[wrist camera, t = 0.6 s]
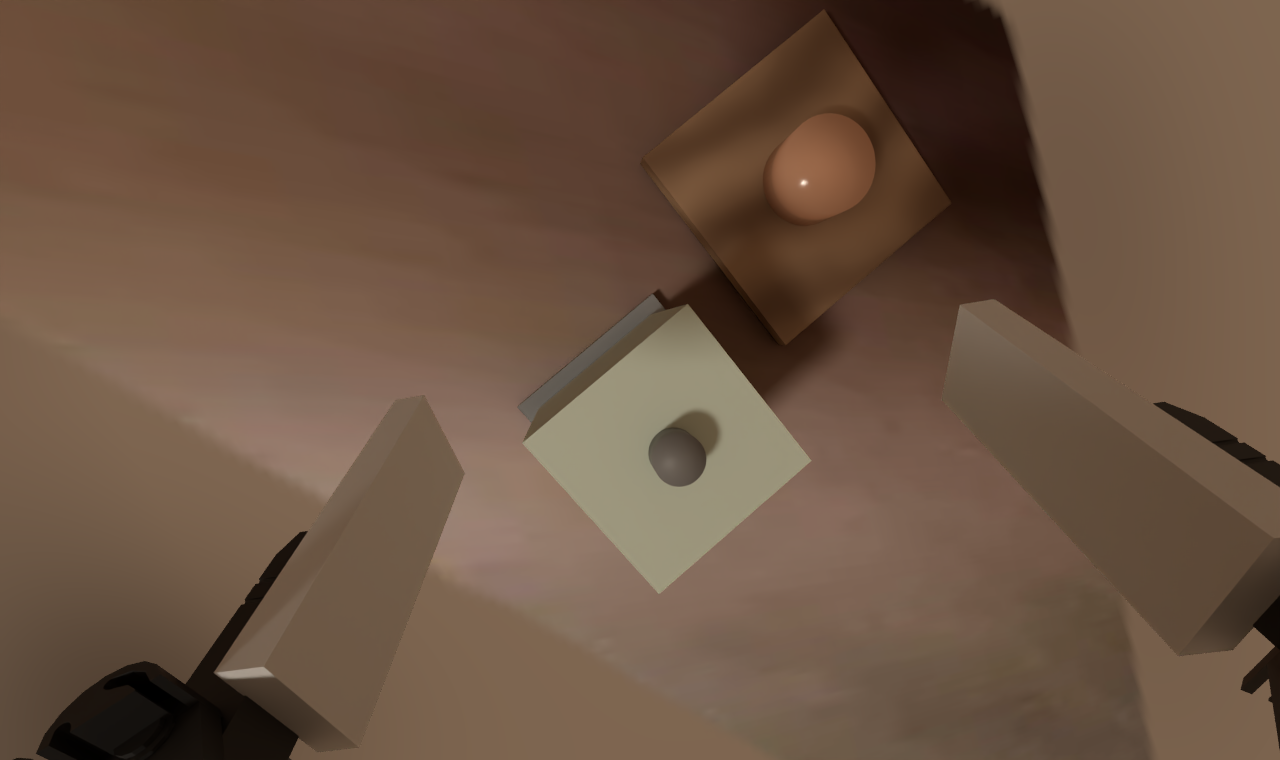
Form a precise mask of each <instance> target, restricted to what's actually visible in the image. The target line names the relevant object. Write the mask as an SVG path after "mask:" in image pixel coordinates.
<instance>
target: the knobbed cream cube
mask: <svg viewBox="0 0 1280 760" xmlns="http://www.w3.org/2000/svg"><path fill="white" fill-rule="evenodd" d="M523 444H524V445H525V447H526V448H527V449H528V450H529V451H530V452H531V453H532V454H533V455H534V456H535V458H536V459H537V460H538V461H539V462H540V463H541V464H542V465H543V466H544V468H545V469H546V470H547V471H548V472H549V473H550V474H551V475H552V476H553V477H554V479H555V480H556V481H557V482H558V483H559V484H560V485H561V486H562V487H563V489H564V490H565V491H566V492H567V493H568V494H569V495H570V496H571V497H572V498H573V500H574V501H575V502H576V503H577V504H578V505H579V506H580V507H581V508H582V510H583V511H584V512H585V513H586V514H587V515H588V516H589V517H590V518H591V519H592V521H593V522H594V523H595V524H596V525H597V526H598V527H599V528H600V529H601V531H602V532H603V533H604V534H605V535H606V536H607V537H608V538H609V539H610V540H611V542H612V543H613V544H614V545H615V546H616V547H617V548H618V549H619V550H620V552H621V553H622V554H623V555H624V556H625V557H626V558H627V559H628V560H629V561H630V563H631V564H632V565H633V566H634V567H635V568H636V569H637V570H638V571H639V573H640V574H641V575H642V576H643V577H644V578H645V579H646V580H647V581H648V582H649V584H650V585H651V586H652V587H653V588H654V589H655V590H656V591H657V592H658V594H660V593H661V592H662V591H663V590H664V589H665V588H667V587H668V586H669V585H670V584H671V583H672V582H673V581H675V580H676V579H677V578H678V577H679V576H680V575H681V574H683V573H684V572H685V571H686V570H687V569H688V568H689V567H691V566H692V565H693V564H694V563H695V562H696V561H697V560H699V559H700V558H701V557H702V556H703V555H704V554H705V553H707V552H708V551H709V550H710V549H711V548H712V547H713V546H715V545H716V544H717V543H718V542H719V541H720V540H721V539H723V538H724V537H725V536H726V535H727V534H728V533H729V532H731V531H732V530H733V529H734V528H735V527H736V526H737V525H739V524H740V523H741V522H742V521H743V520H744V519H745V518H747V517H748V516H749V515H750V514H751V513H752V512H753V511H755V510H756V509H757V508H758V507H759V506H760V505H761V504H763V503H764V502H765V501H766V500H767V499H768V498H769V497H771V496H772V495H773V494H774V493H775V492H776V491H777V490H779V489H780V488H781V487H782V486H783V485H784V484H785V483H787V482H788V481H789V480H790V479H791V478H792V477H793V476H795V475H796V474H797V473H798V472H799V471H800V470H801V469H803V468H804V467H805V466H806V465H807V464H808V463H809V462H811V460H810V458H809V457H808V456H807V454H806V453H805V452H804V451H803V449H802V448H801V447H800V446H799V444H798V443H797V442H796V441H795V439H794V438H793V437H792V435H791V434H790V433H789V432H788V430H787V429H786V428H785V427H784V425H783V424H782V423H781V421H780V420H779V419H778V418H777V416H776V415H775V414H774V413H773V411H772V410H771V409H770V408H769V406H768V405H767V404H766V402H765V401H764V400H763V399H762V397H761V396H760V395H759V394H758V392H757V391H756V390H755V389H754V387H753V386H752V385H751V383H750V382H749V381H748V380H747V378H746V377H745V376H744V375H743V373H742V372H741V371H740V370H739V368H738V367H737V366H736V364H735V363H734V362H733V361H732V359H731V358H730V357H729V356H728V354H727V353H726V352H725V351H724V349H723V348H722V347H721V345H720V344H719V343H718V342H717V340H716V339H715V338H714V337H713V335H712V334H711V333H710V331H709V330H708V329H707V328H706V326H705V325H704V324H703V323H702V321H701V320H700V319H699V318H698V316H697V315H696V314H695V312H694V311H693V310H692V309H691V307H690V306H689V305H688V304H686V305H682V306H679V307H675V308H672V309H668V310H665V311H661V312H658V313H654V314H651V315H649V316H648V317H647V318H646V319H645V320H644V321H642V322H641V323H640V324H639V325H638V326H636V327H635V328H634V329H633V330H632V331H630V332H629V333H628V334H627V335H626V336H624V337H623V338H622V339H621V340H620V341H618V342H617V343H616V344H615V345H614V346H613V347H611V348H610V349H609V350H608V351H607V352H605V353H604V354H603V355H602V356H601V357H599V358H598V359H597V360H596V361H595V362H593V363H592V364H591V365H590V366H589V367H587V368H586V369H585V370H584V371H583V372H582V373H580V374H579V375H578V376H577V377H576V378H574V379H573V380H572V381H571V382H570V383H568V384H567V385H566V386H565V387H564V388H562V389H561V390H560V391H559V392H558V393H556V394H555V395H554V396H553V397H552V398H551V399H549V400H548V401H547V402H546V403H545V404H543V405H542V406H541V407H540V408H539V409H538V411H537V413H536V415H535V417H534V419H533V421H532V424H531V426H530V428H529V430H528V432H527V434H526V436H525V438H524V441H523Z"/></svg>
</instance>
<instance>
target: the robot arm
mask: <svg viewBox="0 0 1280 760" xmlns="http://www.w3.org/2000/svg"><path fill="white" fill-rule="evenodd" d="M942 401H943V402H944V403H945V404H946V405H947V406H948V407H949V408H950V409H951V410H952V411H953V412H954V414H955V415H956V416H957V417H958V418H959V419H960V420H961V421H962V422H963V423H964V424H965V425H966V427H967V428H968V429H969V430H970V431H971V432H972V433H973V434H974V435H975V436H976V437H977V439H978V440H979V441H980V442H981V443H982V444H983V445H984V446H985V447H986V448H987V449H988V450H989V452H990V453H991V454H992V455H993V456H994V457H995V458H996V459H997V460H998V461H999V462H1000V463H1001V465H1002V466H1003V467H1004V468H1005V469H1006V470H1007V471H1008V472H1009V473H1010V474H1011V475H1012V477H1013V478H1014V479H1015V480H1016V481H1017V482H1018V483H1019V484H1020V485H1021V486H1022V487H1023V488H1024V490H1025V491H1026V492H1027V493H1028V494H1029V495H1030V496H1031V497H1032V498H1033V499H1034V500H1035V501H1036V503H1037V504H1038V505H1039V506H1040V507H1041V508H1042V509H1043V510H1044V511H1045V512H1046V513H1047V515H1048V516H1049V517H1050V518H1051V519H1052V520H1053V521H1054V522H1055V523H1056V524H1057V525H1058V526H1059V528H1060V529H1061V530H1062V531H1063V532H1064V533H1065V534H1066V535H1067V536H1068V537H1069V538H1070V539H1071V541H1072V542H1073V543H1074V544H1075V545H1076V546H1077V547H1078V548H1079V549H1080V550H1081V551H1082V553H1083V554H1084V555H1085V556H1086V557H1087V558H1088V559H1089V560H1090V561H1091V562H1092V563H1093V564H1094V566H1095V567H1096V568H1097V569H1098V570H1099V571H1100V572H1101V573H1102V574H1103V575H1104V576H1105V577H1106V579H1107V580H1108V581H1109V582H1110V583H1111V584H1112V585H1113V586H1114V587H1115V588H1116V589H1117V591H1118V592H1119V593H1120V594H1121V595H1122V596H1123V597H1124V598H1125V599H1126V600H1127V601H1128V602H1129V604H1130V605H1131V606H1132V607H1133V608H1134V609H1135V610H1136V611H1137V612H1138V613H1139V614H1140V615H1141V617H1142V618H1143V619H1144V620H1145V621H1146V622H1147V623H1148V624H1149V625H1150V626H1151V627H1152V629H1153V630H1154V631H1155V632H1156V633H1157V634H1158V635H1159V636H1160V637H1161V638H1162V639H1163V640H1164V642H1165V643H1166V644H1167V645H1168V646H1169V647H1170V648H1171V649H1172V650H1173V651H1174V652H1175V653H1176V655H1177V656H1184V655H1193V654H1202V653H1211V652H1220V651H1228V650H1233V649H1234V648H1235V647H1236V646H1237V645H1238V644H1239V643H1240V641H1241V640H1242V639H1243V638H1244V637H1245V636H1246V635H1247V634H1248V633H1249V632H1250V630H1252V628H1253V627H1255V628H1256V629H1257V630H1258V631H1259V632H1260V633H1261V634H1262V635H1264V636H1265V637H1266V638H1267V639H1268V640H1269V641H1270V642H1271V643H1272V644H1274V645H1275V647H1274V648H1273V649H1272V650H1271V651H1270V652H1269V653H1268V654H1267V655H1266V656H1265V657H1264V658H1263V659H1262V660H1261V661H1260V662H1259V663H1258V664H1257V665H1256V666H1255V667H1254V668H1253V669H1252V670H1251V671H1250V672H1249V673H1248V674H1247V675H1246V676H1245V677H1244V678H1243V682H1242V686H1241V690H1243V691H1245V692H1248V693H1250V694H1253V693H1254V692H1255V691H1256V690H1257V689H1258V688H1259V687H1260V686H1261V685H1262V684H1263V683H1264V682H1265V681H1266V680H1267V679H1269V682H1270V689H1271V695H1272V696H1271V697H1270V698H1269V701H1270V702H1272V703H1273V709H1274V715H1275V722H1276V728H1277V735H1278V741H1279V748H1280V465H1279V464H1278V463H1276V462H1274V461H1267V460H1266V458H1265V457H1266V456H1265V455H1263V454H1261V453H1260V452H1258V451H1257V450H1255V449H1254V448H1252V447H1251V446H1249V445H1247V444H1246V443H1239V442H1238V441H1237V438H1236V437H1234V436H1233V435H1231V434H1230V433H1228V432H1226V431H1225V430H1223V429H1222V428H1220V427H1218V426H1217V425H1215V424H1214V423H1212V422H1210V421H1209V420H1207V419H1206V418H1204V417H1201V416H1199V415H1196V414H1194V413H1191V412H1189V411H1186V410H1184V409H1181V408H1178V407H1176V406H1173V405H1171V404H1168V403H1166V402H1160V403H1153V404H1152V403H1151V402H1149V401H1148V400H1146V399H1145V398H1143V397H1141V396H1140V395H1139V394H1137V393H1136V392H1134V391H1132V390H1131V389H1130V388H1128V387H1127V386H1125V385H1124V384H1122V383H1121V382H1119V381H1118V380H1116V379H1115V378H1113V377H1111V376H1110V375H1108V374H1107V373H1105V372H1104V371H1102V370H1101V369H1099V368H1098V367H1096V366H1095V365H1093V364H1092V363H1090V362H1088V361H1087V360H1086V359H1084V358H1083V357H1081V356H1080V355H1078V354H1077V353H1075V352H1074V351H1072V350H1071V349H1069V348H1068V347H1066V346H1064V345H1063V344H1061V343H1060V342H1058V341H1057V340H1055V339H1054V338H1052V337H1051V336H1049V335H1048V334H1046V333H1045V332H1043V331H1042V330H1040V329H1039V328H1037V327H1036V326H1034V325H1033V324H1031V323H1030V322H1028V321H1027V320H1025V319H1024V318H1022V317H1020V316H1019V315H1017V314H1016V313H1014V312H1013V311H1011V310H1010V309H1008V308H1007V307H1005V306H1004V305H1002V304H1001V303H999V302H998V301H996V300H995V299H992V300H986V301H980V302H974V303H968V304H963V305H960V307H959V313H958V318H957V323H956V328H955V333H954V338H953V343H952V348H951V354H950V359H949V364H948V369H947V374H946V379H945V384H944V389H943V395H942ZM464 474H465V473H464V471H463V469H462V467H461V465H460V463H459V461H458V459H457V458H456V456H455V454H454V452H453V450H452V448H451V446H450V444H449V442H448V440H447V438H446V436H445V434H444V432H443V431H442V429H441V427H440V425H439V423H438V421H437V419H436V417H435V415H434V413H433V411H432V409H431V407H430V406H429V404H428V402H427V400H426V398H425V396H424V395H422V396H416V397H410V398H404V399H399V400H395V402H394V403H393V405H392V406H391V408H390V409H389V411H388V412H387V414H386V415H385V417H384V418H383V420H382V421H381V423H380V424H379V426H378V427H377V429H376V430H375V432H374V433H373V435H372V436H371V438H370V439H369V441H368V442H367V444H366V445H365V447H364V448H363V450H362V451H361V453H360V454H359V456H358V457H357V459H356V460H355V462H354V463H353V465H352V466H351V468H350V469H349V471H348V472H347V474H346V475H345V477H344V478H343V480H342V481H341V483H340V484H339V486H338V487H337V489H336V490H335V492H334V493H333V495H332V496H331V498H330V499H329V501H328V502H327V504H326V505H325V507H324V508H323V510H322V511H321V513H320V514H319V516H318V517H317V519H316V520H315V522H314V523H313V525H312V526H311V528H310V529H309V531H305V532H300V533H299V534H298V535H297V536H296V537H294V538H293V539H292V540H291V541H290V542H289V543H288V544H287V545H286V546H285V547H284V548H283V549H282V550H281V551H280V552H279V553H277V554H276V556H275V557H274V558H273V560H272V561H271V563H270V564H269V566H268V567H267V569H266V570H265V571H264V573H263V574H262V576H261V577H260V578H259V580H260V582H259V584H255V586H254V587H253V588H252V590H251V592H250V593H249V594H248V596H247V597H246V599H245V604H243V605H241V606H240V607H239V608H238V610H237V611H236V613H235V614H234V616H233V617H232V618H231V620H230V621H229V623H228V624H227V626H226V627H225V628H224V630H223V631H222V633H221V634H220V636H219V637H218V638H217V640H216V641H215V643H214V644H213V646H212V647H211V648H210V650H209V651H208V653H207V654H206V656H205V657H204V659H203V660H202V661H201V663H200V664H199V666H198V667H197V669H196V670H195V671H194V673H193V674H192V676H191V678H190V679H189V680H188V682H187V683H186V684H184V683H182V682H181V681H179V680H178V679H177V678H175V677H174V676H172V675H171V674H170V673H168V672H167V671H165V670H164V669H162V668H161V667H160V666H158V665H157V664H154V663H150V662H146V661H144V662H140V663H135V664H131V665H127V666H125V667H123V668H121V669H119V670H117V671H115V672H113V673H111V674H109V675H107V676H105V677H104V678H103V679H101V680H100V681H99V682H97V683H96V684H94V685H93V686H91V687H90V688H89V689H87V690H86V691H84V692H83V693H82V694H81V695H80V696H79V697H78V698H77V699H76V700H75V701H74V702H72V703H71V704H70V705H69V706H68V707H67V708H66V709H65V710H64V711H63V712H62V713H61V714H60V715H59V717H58V718H57V719H56V721H55V722H54V723H53V724H52V726H51V727H50V728H49V730H48V731H47V732H46V733H45V735H44V737H43V739H42V742H41V744H40V746H39V748H38V750H37V753H36V754H38V755H40V756H42V757H44V758H46V759H48V760H291V759H290V758H289V756H290V754H291V752H292V750H293V747H294V746H295V744H296V741H297V739H298V738H299V739H301V740H302V741H304V742H305V743H306V744H307V745H309V746H310V747H311V748H313V749H314V750H315V751H317V752H324V751H333V750H341V749H351V748H359V747H360V744H361V741H362V739H363V736H364V734H365V731H366V728H367V726H368V723H369V721H370V718H371V716H372V713H373V710H374V708H375V705H376V702H377V700H378V697H379V695H380V692H381V690H382V687H383V684H384V682H385V679H386V676H387V674H388V671H389V669H390V666H391V664H392V661H393V658H394V655H395V653H396V651H397V648H398V645H399V642H400V640H401V638H402V635H403V632H404V630H405V627H406V624H407V622H408V619H409V617H410V614H411V611H412V609H413V606H414V604H415V601H416V598H417V596H418V593H419V591H420V588H421V585H422V583H423V580H424V578H425V575H426V572H427V570H428V567H429V565H430V562H431V559H432V557H433V554H434V552H435V549H436V546H437V544H438V541H439V539H440V536H441V533H442V531H443V528H444V526H445V523H446V520H447V518H448V515H449V513H450V510H451V507H452V505H453V502H454V500H455V497H456V494H457V492H458V489H459V487H460V484H461V481H462V479H463V476H464ZM14 760H33V759H26V758H16V759H14Z"/></svg>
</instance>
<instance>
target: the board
mask: <svg viewBox="0 0 1280 760" xmlns="http://www.w3.org/2000/svg"><path fill="white" fill-rule="evenodd" d="M824 113H834V114H840V115H843V116H846V117H848V118H850V119H852V120H853V121H855V122H856V123H857V124H859V125H860V126H861V127H862V128H863V130H864V131H865V132H866V134H867V135H868V137H869V139H870V141H871V143H872V146H873V149H874V153H875V162H876V166H875V174H874V179H873V182H872V184H871V187H870V189H869V190H868V192H867V194H866V195H865V196H864V198H863V199H862V200H861V201H860V202H859V203H858V204H856V205H855V206H854V207H852V208H850V209H848V210H846V211H844V212H842V213H840V214H837V215H835V216H833V217H831V218H829V219H827V220H824V221H822V222H820V223H817V224H814V225H810V226H799V225H794V224H791V223H789V222H787V221H785V220H783V219H782V218H781V217H779V216H778V215H777V214H776V213H775V212H774V211H773V209H772V208H771V206H770V205H769V203H768V201H767V199H766V196H765V193H764V188H763V173H764V168H765V165H766V162H767V160H768V158H769V156H770V155H771V153H772V152H773V151H774V149H775V148H776V147H777V146H778V145H780V144H781V143H782V142H783V141H784V140H785V139H786V138H787V137H788V136H789V135H790V134H791V133H792V132H794V131H795V130H796V129H797V128H798V127H799V126H800V125H801V124H802V123H803V122H805V121H806V120H808V119H809V118H811V117H813V116H816V115H819V114H824ZM640 164H641V165H642V167H643V168H644V169H645V171H646V172H647V173H648V175H649V176H650V177H651V179H652V180H653V181H654V182H655V184H656V185H657V186H658V188H659V189H660V190H661V192H662V193H663V194H664V196H665V197H666V198H667V199H668V201H669V202H670V203H671V205H672V206H673V207H674V209H675V210H676V211H677V213H678V214H679V215H680V216H681V218H682V219H683V220H684V222H685V223H686V224H687V226H688V227H689V228H690V230H691V231H692V232H693V233H694V235H695V236H696V237H697V239H698V240H699V241H700V243H701V244H702V245H703V246H704V248H705V249H706V250H707V252H708V253H709V254H710V256H711V257H712V258H713V260H714V261H715V262H716V263H717V265H718V266H719V267H720V269H721V270H722V271H723V273H724V274H725V275H726V277H727V278H728V279H729V280H730V282H731V283H732V284H733V286H734V287H735V288H736V290H737V291H738V292H739V294H740V295H741V296H742V297H743V299H744V300H745V301H746V303H747V304H748V305H749V307H750V308H751V309H752V311H753V312H754V313H755V314H756V316H757V317H758V318H759V320H760V321H761V322H762V324H763V325H764V326H765V328H766V329H767V330H768V331H769V333H770V334H771V335H772V337H773V338H774V339H775V341H776V342H777V343H778V345H787V344H788V343H789V342H790V341H791V340H792V339H794V338H795V337H796V336H797V335H798V334H799V333H801V332H802V331H803V330H804V329H805V328H806V327H808V326H809V325H810V324H811V323H812V322H813V321H815V320H816V319H817V318H818V317H819V316H820V315H822V314H823V313H824V312H825V311H826V310H827V309H829V308H830V307H831V306H832V305H833V304H834V303H836V302H837V301H838V300H839V299H840V298H841V297H843V296H844V295H845V294H846V293H847V292H848V291H850V290H851V289H852V288H853V287H854V286H855V285H857V284H858V283H859V282H860V281H861V280H862V279H864V278H865V277H866V276H867V275H868V274H869V273H871V272H872V271H873V270H874V269H875V268H876V267H878V266H879V265H880V264H881V263H882V262H883V261H885V260H886V259H887V258H888V257H889V256H890V255H892V254H893V253H894V252H895V251H896V250H897V249H899V248H900V247H901V246H902V245H903V244H904V243H905V242H907V241H908V240H909V239H910V238H911V237H912V236H914V235H915V234H916V233H917V232H918V231H919V230H921V229H922V228H923V227H924V226H925V225H926V224H928V223H929V222H930V221H931V220H932V219H933V218H935V217H936V216H937V215H938V214H939V213H940V212H942V211H943V210H944V209H945V208H946V207H947V206H949V205H950V204H951V201H950V200H949V198H948V197H947V195H946V194H945V192H944V191H943V189H942V188H941V186H940V185H939V183H938V182H937V180H936V179H935V177H934V175H933V174H932V172H931V171H930V169H929V168H928V166H927V165H926V163H925V162H924V160H923V159H922V157H921V156H920V154H919V153H918V151H917V150H916V148H915V147H914V145H913V144H912V142H911V141H910V139H909V137H908V136H907V134H906V133H905V131H904V130H903V128H902V127H901V125H900V124H899V122H898V121H897V119H896V118H895V116H894V115H893V113H892V112H891V110H890V109H889V107H888V106H887V104H886V102H885V101H884V99H883V98H882V96H881V95H880V93H879V92H878V90H877V89H876V87H875V86H874V84H873V83H872V81H871V80H870V78H869V77H868V75H867V74H866V72H865V71H864V69H863V67H862V66H861V64H860V63H859V61H858V60H857V58H856V57H855V55H854V54H853V52H852V51H851V49H850V48H849V46H848V45H847V43H846V42H845V40H844V39H843V37H842V36H841V34H840V32H839V31H838V29H837V28H836V26H835V25H834V23H833V22H832V20H831V19H830V17H829V16H828V14H827V13H826V11H825V10H823V11H821V12H820V13H819V14H818V15H816V16H815V17H814V18H813V19H812V20H810V21H809V22H808V23H807V24H805V25H804V26H803V27H802V28H801V29H799V30H798V31H797V32H796V33H794V34H793V35H792V36H791V37H790V38H788V39H787V40H786V41H785V42H783V43H782V44H781V45H780V46H779V47H777V48H776V49H775V50H774V51H772V52H771V53H770V54H769V55H768V56H766V57H765V58H764V59H763V60H761V61H760V62H759V63H758V64H757V65H755V66H754V67H753V68H752V69H750V70H749V71H748V72H747V73H745V74H744V75H743V76H742V77H741V78H739V79H738V80H737V81H736V82H734V83H733V84H732V85H731V86H730V87H728V88H727V89H726V90H725V91H723V92H722V93H721V94H720V95H719V96H717V97H716V98H715V99H714V100H712V101H711V102H710V103H709V104H708V105H706V106H705V107H704V108H703V109H701V110H700V111H699V112H698V113H697V114H695V115H694V116H693V117H692V118H690V119H689V120H688V121H687V122H686V123H684V124H683V125H682V126H681V127H679V128H678V129H677V130H676V131H675V132H673V133H672V134H671V135H670V136H668V137H667V138H666V139H665V140H664V141H662V142H661V143H660V144H659V145H657V146H656V147H655V148H654V149H653V150H651V151H650V152H649V153H648V154H646V155H645V156H644V157H643V158H642V161H641V163H640Z"/></svg>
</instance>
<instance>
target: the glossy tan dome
mask: <svg viewBox="0 0 1280 760" xmlns="http://www.w3.org/2000/svg"><path fill="white" fill-rule="evenodd" d="M875 166H876V162H875V153H874V149H873V146H872V143H871V141H870V139H869V137H868V135H867V134H866V132H865V131H864V130H863V128H862V127H861V126H860V125H859V124H857V123H856V122H855V121H853V120H852V119H850V118H848V117H846V116H843V115H840V114H834V113H824V114H819V115H816V116H813V117H811V118H809V119H808V120H806V121H805V122H803V123H802V124H801V125H800V126H799V127H798V128H797V129H796V130H795V131H794V132H792V133H791V134H790V135H789V136H788V137H787V138H786V139H785V140H784V141H783V142H782V143H781V144H780V145H778V146H777V147H776V148H775V149H774V151H773V152H772V153H771V155H770V156H769V158H768V160H767V162H766V165H765V168H764V173H763V188H764V193H765V196H766V199H767V201H768V203H769V205H770V206H771V208H772V209H773V211H774V212H775V213H776V214H777V215H778V216H779V217H781V218H782V219H783V220H785V221H787V222H789V223H791V224H794V225H799V226H810V225H814V224H817V223H820V222H822V221H824V220H827V219H829V218H831V217H833V216H835V215H837V214H840V213H842V212H844V211H846V210H848V209H850V208H852V207H854V206H855V205H856V204H858V203H859V202H860V201H861V200H862V199H863V198H864V196H865V195H866V194H867V192H868V190H869V189H870V187H871V184H872V182H873V179H874V174H875Z"/></svg>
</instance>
